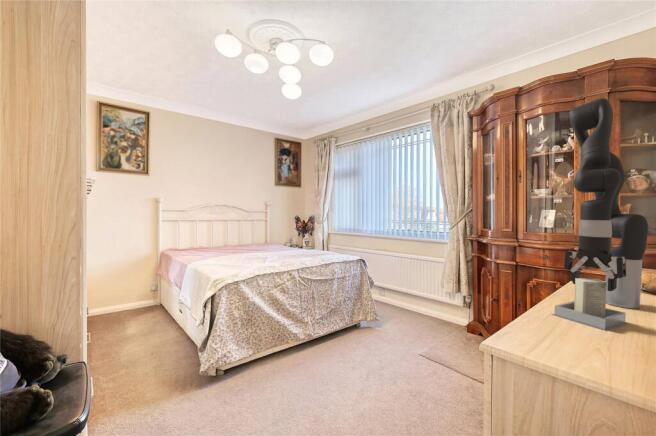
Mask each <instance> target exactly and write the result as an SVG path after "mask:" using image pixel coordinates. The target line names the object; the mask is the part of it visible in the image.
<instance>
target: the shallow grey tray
mask: <svg viewBox="0 0 656 436" xmlns="http://www.w3.org/2000/svg"><path fill="white" fill-rule="evenodd" d="M574 304H575V300H573V301H568V302H565V303H560V304H556V305H554V313H553V314H554V315H556V316H555V317H557V316H560V317H563V318H562V319H564V318H567V319H570V320H573V321H572V322H574V321H577V322H580V323H583V324H582V325H584V324H587V325H590V326H593V327H592V328H594V327H597V328H600V329H603V330H602V331H604V330H606V329H609V328H612V327H614V326H617V325H620V324H623V323H625V322H626V316H627V315H626V314H627V313H626V312H624V311H619V310H616V309H613V308H608V307H606V308H605V318H601V317H598V316H594V315H590V314H586V313H583V312H579V311H575V310H574ZM554 315H553V316H554ZM560 317H559V318H560ZM567 319H566V320H567ZM570 320H569V321H570ZM577 322H576V323H577ZM580 323H579V324H580ZM587 325H586V326H587ZM590 326H589V327H590ZM597 328H596V329H597ZM600 329H599V330H600Z"/></svg>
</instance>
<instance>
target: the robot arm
mask: <svg viewBox="0 0 656 436" xmlns="http://www.w3.org/2000/svg"><path fill="white" fill-rule="evenodd" d="M568 118H569V122H570V125H571V127H572V130H573V133H574V135H575V138H576V140H577V142H578V145H579V147H580V164H579V168H578V170H577V172H576V174H575V176H574V179H573V187H574V189H575V190H576V191H577V192H579V193H587V194H588V193H594V197H595V199H589V200H585V201H582V202H581V203H580V208H579V209H580V210H579V224H578V237H577V240H578V241H577V250H578V251H577V252H576V251H573V250H568V251H565V254H564V256H565V258H564V264H563V266H564V267H563V269H565V270H568V271H570V272H571V273H570V280H571V282H572V284H573V285H575V278H580V271H581V269H583V268H584V267H585V268H594V269H597V270H599V269H601V271H603V272H604V273H605V280H604V282H607V285H606V304H608V305H610V306H615V307H619V308H625V309H640V308H641V292H642V275H643V272H642V271H643V259H644V258H643V257H644V254H645V252H646V250H647V243H648V237H649V236H648V235H649V222H648V221H647V218H646V217H645V216H644V215H642V214H637V213H622V212H621V209H620V206H619V195H620V193H621V191H622V189H623V187H624V183H625V181H626V174H625V171H624V168H623V167H624V166H623V164H622V161H621V159H620V158H619V157H618V156H617V155H616V154H614V153H613V152H612V151H610V140H611V135H612V130H613V121H614V110H613V107H612V105H611V102H610V101H609V100H608V99H607V98H605V97H601V98H598V99H595V100H592V101H589V102H586V103H584V104H581V105H579V106H576V107H574V108H572V109H570V110H569V112H568ZM592 129H593V131H592V132H591V133H590V134H589V132H588V131H589V130H592ZM612 239H618V240H619V239H620V243H619V245H617V246H615V247H612ZM575 258H577V259H578V261H577V262H576V263H575V264H574V259H575Z"/></svg>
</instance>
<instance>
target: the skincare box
mask: <svg viewBox="0 0 656 436" xmlns="http://www.w3.org/2000/svg"><path fill="white" fill-rule="evenodd" d="M606 285H607V282H605V280H604V281H603V280H601V279H598V278H580V277H579V278H575V284H574V301H575V304H574V310H575V311H579V312H583V313H586V314H590V315H594V316H598V317H601V318H605V308H607V307H606V304H607V303H606Z"/></svg>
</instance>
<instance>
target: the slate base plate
mask: <svg viewBox="0 0 656 436" xmlns="http://www.w3.org/2000/svg"><path fill="white" fill-rule="evenodd" d="M554 314H555V313H551V314H550V316H555V317H558V318H561V319H564V320H568V321H570V322H574V323H578V324H580V325H583V326H587V327H591V328H594V329H597V330H601V331H604V332H610V331H612V330H615V329H619V328H621V327H623V326H626V325H628V324H630V322H626V321H625V323H623V324H620V325H617V326H614V327H612V328H609V329H606V330H603V329H600V328H597V327H593V326H590V325H587V324H583V323H580V322H577V321H573V320H570V319H567V318H563V317H560V316H556V315H554Z"/></svg>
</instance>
